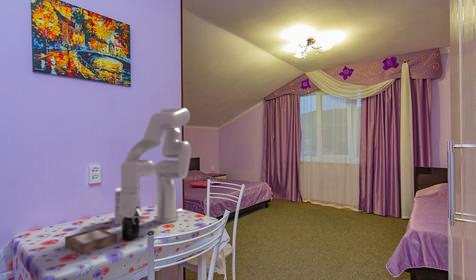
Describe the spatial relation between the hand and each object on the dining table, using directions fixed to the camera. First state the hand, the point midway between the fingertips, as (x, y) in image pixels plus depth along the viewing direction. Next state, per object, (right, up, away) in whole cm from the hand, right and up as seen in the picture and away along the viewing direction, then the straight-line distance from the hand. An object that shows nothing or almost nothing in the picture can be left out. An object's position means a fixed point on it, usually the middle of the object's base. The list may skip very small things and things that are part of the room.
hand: (130, 230), depth 112 cm
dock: (-13, -3, -7) cm, 15 cm away
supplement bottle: (0, -3, 0) cm, 3 cm away
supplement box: (-13, -3, +24) cm, 27 cm away
